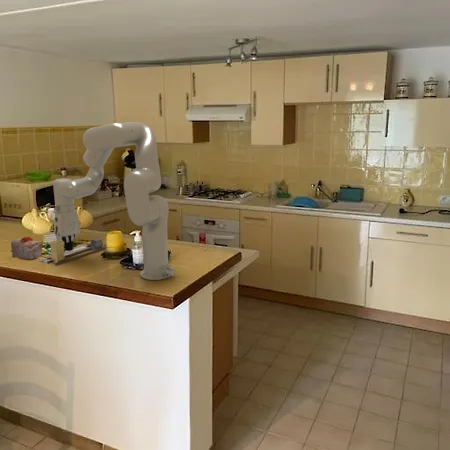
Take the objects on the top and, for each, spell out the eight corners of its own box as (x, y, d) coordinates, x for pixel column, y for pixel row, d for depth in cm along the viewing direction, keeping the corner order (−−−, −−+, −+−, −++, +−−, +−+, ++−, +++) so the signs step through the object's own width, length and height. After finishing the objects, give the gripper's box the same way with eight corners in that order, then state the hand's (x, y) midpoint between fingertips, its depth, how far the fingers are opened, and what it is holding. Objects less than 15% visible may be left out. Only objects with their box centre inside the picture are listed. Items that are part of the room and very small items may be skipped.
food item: (46, 258, 203) (44, 236, 201) (31, 263, 196) (29, 241, 194) (24, 254, 209) (21, 233, 206) (9, 259, 202) (6, 237, 199)
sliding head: (64, 261, 194) (63, 241, 192) (57, 264, 191) (55, 243, 189) (51, 258, 199) (49, 238, 196) (44, 260, 196) (42, 240, 193)
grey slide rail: (108, 251, 213) (107, 238, 211) (53, 269, 188) (52, 255, 187) (90, 247, 219) (89, 234, 217) (35, 264, 194) (33, 250, 193)
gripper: (56, 212, 185) (60, 256, 189) (85, 206, 197) (88, 247, 201) (44, 210, 188) (48, 253, 193) (73, 204, 201) (76, 244, 205)
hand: (68, 250), depth 197 cm, fingers closed
